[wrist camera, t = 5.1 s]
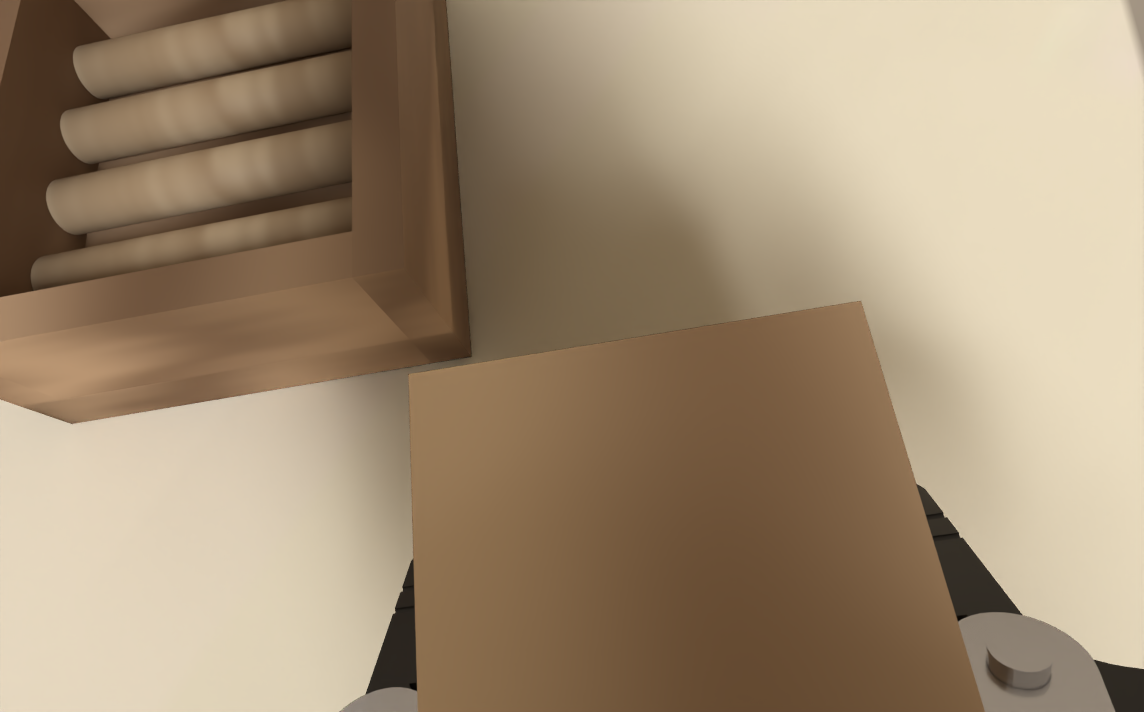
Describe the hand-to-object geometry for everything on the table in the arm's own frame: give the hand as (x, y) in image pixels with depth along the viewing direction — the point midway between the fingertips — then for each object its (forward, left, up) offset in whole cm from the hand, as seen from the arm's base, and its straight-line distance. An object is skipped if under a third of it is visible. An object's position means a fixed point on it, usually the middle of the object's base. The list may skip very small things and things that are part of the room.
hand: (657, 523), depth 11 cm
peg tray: (-9, +11, -4) cm, 15 cm away
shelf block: (0, -2, -4) cm, 5 cm away
